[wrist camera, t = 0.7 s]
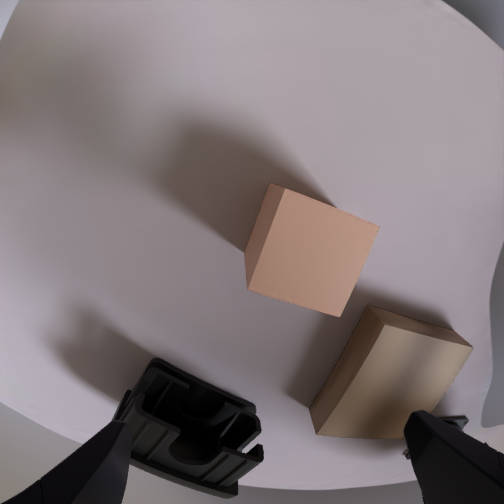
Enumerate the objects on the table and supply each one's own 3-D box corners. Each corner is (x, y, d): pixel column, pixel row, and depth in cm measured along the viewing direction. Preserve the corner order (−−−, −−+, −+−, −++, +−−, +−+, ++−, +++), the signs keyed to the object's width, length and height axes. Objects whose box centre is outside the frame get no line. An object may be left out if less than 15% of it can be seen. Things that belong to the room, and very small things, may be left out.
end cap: (118, 404, 22) (94, 461, 15) (148, 350, 20) (121, 414, 14) (219, 450, 23) (217, 509, 17) (263, 407, 22) (271, 473, 16)
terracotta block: (337, 208, 18) (379, 226, 12) (311, 275, 19) (339, 317, 14) (269, 182, 18) (285, 188, 12) (244, 252, 19) (247, 289, 13)
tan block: (454, 331, 21) (473, 347, 18) (398, 418, 24) (410, 438, 21) (367, 304, 20) (384, 324, 17) (308, 409, 22) (316, 434, 19)
